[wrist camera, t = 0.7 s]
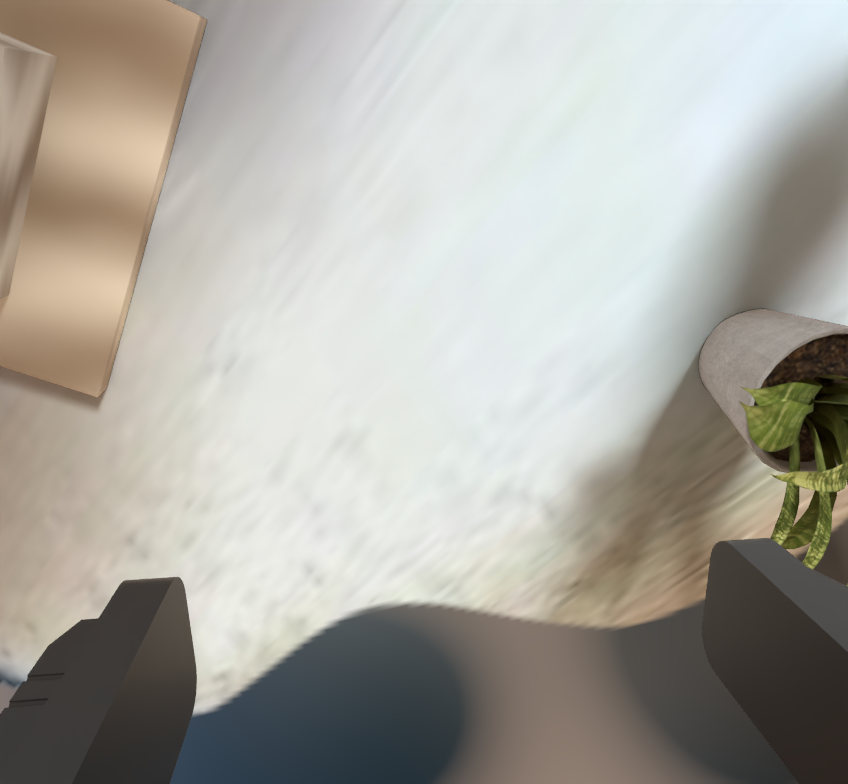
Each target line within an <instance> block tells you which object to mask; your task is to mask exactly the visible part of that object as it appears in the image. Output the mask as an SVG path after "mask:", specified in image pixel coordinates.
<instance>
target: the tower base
mask: <svg viewBox="0 0 848 784" xmlns="http://www.w3.org/2000/svg"><path fill="white" fill-rule="evenodd" d="M206 23H207V20H206V19H204V18H203V17H201V16H199V15H197V14H195V13H193V12H191V11H189V10H187V9H184V8H182V7H180V6H178V5H176V4H174V3H172V2H170V1H167V0H0V366H1V367H4V368H7V369H10V370H13V371H16V372H20V373H23V374H26V375H29V376H32V377H35V378H38V379H42V380H45V381H48V382H51V383H54V384H57V385H60V386H63V387H67V388H70V389H73V390H76V391H79V392H82V393H85V394H89V395H92V396H95V397H99V396H100V395H101V394H102V392H103V391H104V390H105V389H106V388H107V386H108V382H109V378H110V375H111V371H112V367H113V364H114V360H115V356H116V353H117V349H118V345H119V342H120V338H121V334H122V331H123V327H124V323H125V320H126V316H127V312H128V309H129V305H130V301H131V298H132V294H133V290H134V287H135V283H136V279H137V276H138V272H139V268H140V265H141V261H142V257H143V254H144V250H145V246H146V243H147V239H148V235H149V232H150V228H151V224H152V221H153V217H154V213H155V210H156V206H157V202H158V199H159V195H160V191H161V188H162V184H163V180H164V177H165V173H166V169H167V166H168V162H169V158H170V155H171V151H172V147H173V144H174V140H175V136H176V133H177V129H178V125H179V122H180V118H181V114H182V111H183V107H184V103H185V100H186V96H187V92H188V89H189V85H190V81H191V78H192V74H193V70H194V67H195V63H196V59H197V56H198V52H199V48H200V45H201V41H202V37H203V34H204V30H205V26H206Z"/></svg>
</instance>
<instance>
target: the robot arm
mask: <svg viewBox="0 0 848 784" xmlns="http://www.w3.org/2000/svg"><path fill="white" fill-rule="evenodd" d="M702 638H703V645H704V649H705V652H706V655H707V658H708V661H709V663H710V665H711V667H712V669H713V670H714V672H715V673H716V675H717V676H718V677H719V679H720V680H721V681H722V683H723V684H724V685H725V687H726V688H727V689H728V691H729V692H730V693H731V694H732V696H733V697H734V698H735V700H736V701H737V702H738V704H739V705H740V706H741V708H742V709H743V710H744V712H745V713H746V714H747V716H748V717H749V718H750V720H751V721H752V722H753V724H754V725H755V726H756V728H757V729H758V730H759V732H760V733H761V734H762V735H763V737H764V738H765V739H766V741H767V742H768V743H769V745H770V746H771V747H772V749H773V750H774V751H775V753H776V754H777V755H778V757H779V758H780V759H781V761H782V762H783V763H784V765H785V766H786V767H787V768H788V770H789V771H790V773H791V774H792V775H793V776H794V777H795V779H796V780H797V782H798V783H799V784H848V587H847V586H845V585H843V584H841V583H839V582H837V581H835V580H833V579H831V578H829V577H827V576H825V575H823V574H821V573H819V572H817V571H814V570H813V569H811V568H808V567H806V566H805V565H804V564H803V563H801V562H800V561H799V560H798V559H797V558H795V557H794V556H793V555H792V554H790V553H789V552H788V551H787V550H786V549H784V548H783V547H782V546H781V545H779V544H778V543H777V542H775V541H774V540H772V539H769V538H760V539H745V540H731V541H720V542H718V543H717V544H716V545H715V546H714V548H713V550H712V553H711V558H710V566H709V574H708V582H707V590H706V599H705V607H704V616H703V625H702ZM196 683H197V675H196V663H195V656H194V649H193V642H192V635H191V628H190V621H189V614H188V607H187V600H186V593H185V588H184V584H183V582H182V580H181V579H180V578H179V577H169V578H154V579H139V580H126V581H123V582H122V583H121V584H120V586H119V587H118V589H117V590H116V592H115V593H114V595H113V596H112V598H111V600H110V601H109V603H108V604H107V606H106V608H105V609H104V611H103V612H102V614H101V616H100V617H99V619H86V620H81V621H79V622H78V623H77V624H76V625H74V626H73V627H72V628H71V629H69V630H68V631H67V632H65V633H64V634H63V635H62V636H60V637H59V638H58V639H56V640H55V641H54V642H53V643H51V644H50V645H49V646H48V647H47V649H46V650H45V651H44V653H43V654H42V656H41V657H40V659H39V660H38V661H37V663H36V664H35V666H34V667H33V668H32V670H31V671H30V673H29V674H28V679H27V681H26V682H23V683H22V684H21V686H20V687H19V688H18V690H17V691H16V693H15V694H14V696H13V697H12V699H11V700H10V704H9V708H5V709H4V710H3V711H2V713H1V714H0V784H169V783H170V781H171V777H172V774H173V771H174V768H175V765H176V762H177V759H178V756H179V753H180V750H181V747H182V744H183V741H184V738H185V735H186V732H187V729H188V725H189V722H190V720H191V716H192V713H193V709H194V703H195V696H196Z"/></svg>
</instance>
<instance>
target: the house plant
mask: <svg viewBox="0 0 848 784" xmlns="http://www.w3.org/2000/svg"><path fill="white" fill-rule="evenodd" d="M699 373H700V377H701V379H702V382H703V384H704V386H705V387H706V389H707V390H708V391H709V393H710V394H711V395H712V397H713V398H714V399H715V401H716V402H717V403H718V405H719V406H720V408H721V409H722V410H723V412H724V413H725V414H726V416H727V417H728V418H729V420H730V421H731V422H732V424H733V425H734V426H735V428H736V429H737V431H738V432H739V433H740V435H741V436H742V437H743V439H744V440H745V441H746V443H747V444H748V445H749V447H750V448H751V450H752V451H753V452H754V453H755V454H756V455H757V456H758V458H759V459H760V460H761V461H762V462H763V463H764V464H766V465H768V466H770V467H772V468H773V469H775V470H777V471H781V472H786V473H787V474H782V475H776V476H775V475H772V474H771V475H772V476H774V477H775V478H777V479H779V480H781V481H785V482H787V488H786V493H785V498H784V502H783V506H782V510H781V513H780V515H779V518H778V520H777V523H776V525H775V528H774V531H773V534H772V536H771V538H770V539H772V540H774V541H775V542H777V543H778V544H779V545H781V546H782V547H783V548H784V549H795V548H798V547H801V546H804V545H807V544H808V543H810V542H811V545H810V547H809V550H808V553H807V555H806V557H805V559H804V561H803V564H804V565H805V566H806V567H808V568H811V569H813V568H815V567H816V565H817V564H818V562H819V561H820V559H821V558H822V557H823V555H824V552H825V550H826V547H827V545H828V542H829V538H830V533H831V524H832V510H833V507H834V503H835V500H836V496H837V492H838V491H840V490H842V489H844V488H845V486H846V480H847V484H848V326H845V325H840V324H835V323H830V322H825V321H820V320H816V319H811V318H806V317H801V316H796V315H791V314H786V313H781V312H777V311H772V310H767V309H756V310H749V311H746V312H742V313H739V314H736V315H734V316H732V317H729V318H727V319H725V320H724V321H723V322H721V323H720V324H719V325H718V326H717V327H716V328H715V329H714V330H713V331H712V333H711V334H710V335H709V337H708V338H707V339H706V341H705V343H704V346H703V348H702V350H701V353H700V359H699ZM799 487H802V488H806V489H811V490H815V492H814V495H813V497H812V500H811V502H810V505H809V508H808V509H807V510H806V512H805V513H804V514H803V516H802V517H801V518H800V519H799V520H798V522H797V523H796V524H795V525H794V526H793V523H794V520H795V518H796V514H797V510H798V505H799ZM792 526H793V527H792ZM847 587H848V585H847Z"/></svg>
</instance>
